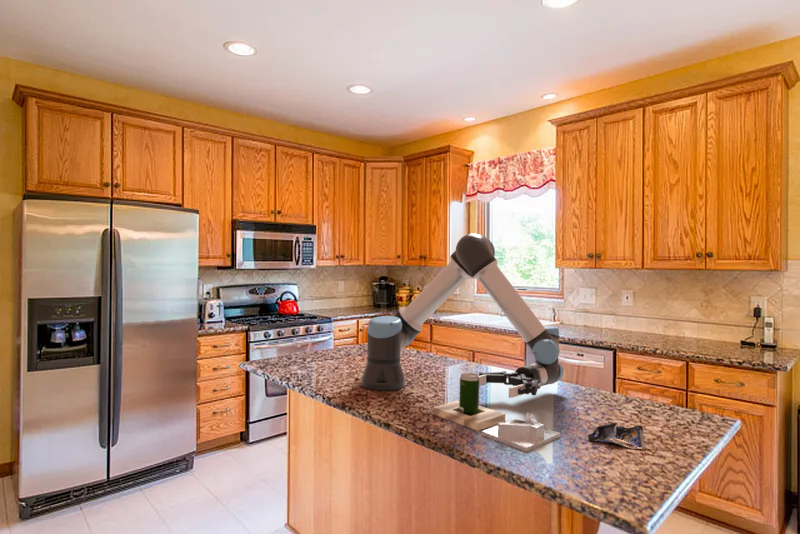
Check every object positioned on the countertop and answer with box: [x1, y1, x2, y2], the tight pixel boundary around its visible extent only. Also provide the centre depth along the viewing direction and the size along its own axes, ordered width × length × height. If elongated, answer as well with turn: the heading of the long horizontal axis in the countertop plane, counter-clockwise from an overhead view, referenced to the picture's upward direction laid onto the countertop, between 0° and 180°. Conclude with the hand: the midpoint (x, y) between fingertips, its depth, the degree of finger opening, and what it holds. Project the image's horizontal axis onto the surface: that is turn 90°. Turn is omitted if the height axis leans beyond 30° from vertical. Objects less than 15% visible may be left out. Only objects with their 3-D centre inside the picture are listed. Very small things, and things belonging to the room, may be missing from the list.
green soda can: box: [459, 372, 480, 416], centre depth 128 cm, size 5×5×12 cm
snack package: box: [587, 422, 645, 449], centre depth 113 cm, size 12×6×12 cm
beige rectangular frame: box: [432, 400, 506, 432], centre depth 128 cm, size 16×12×2 cm
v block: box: [481, 412, 561, 453], centre depth 115 cm, size 13×15×4 cm
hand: (490, 387), depth 133 cm, fingers open, 13 cm apart
